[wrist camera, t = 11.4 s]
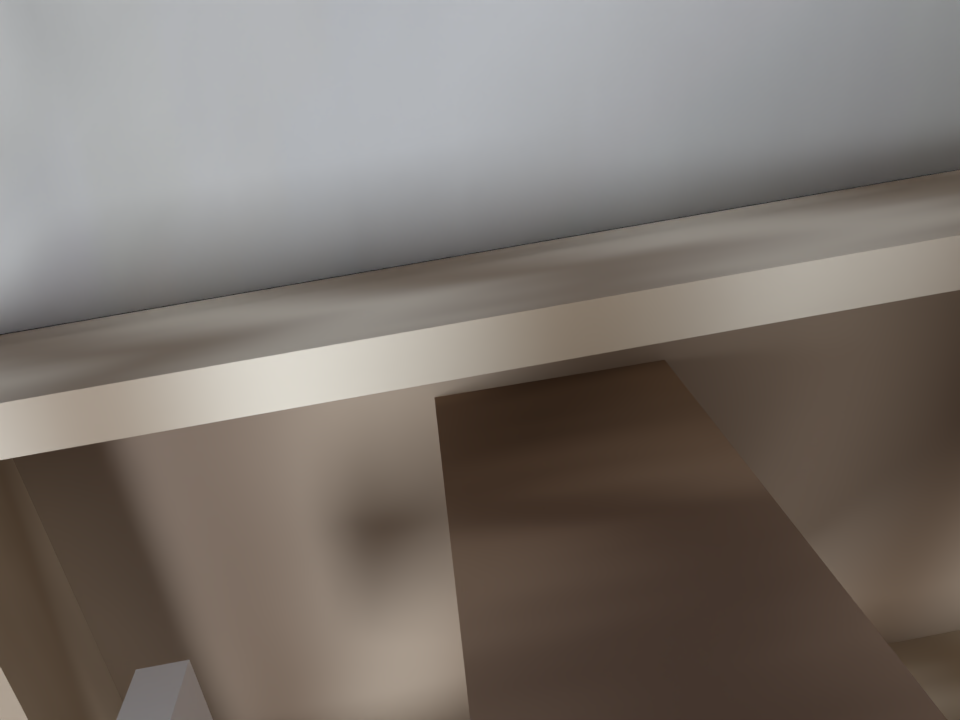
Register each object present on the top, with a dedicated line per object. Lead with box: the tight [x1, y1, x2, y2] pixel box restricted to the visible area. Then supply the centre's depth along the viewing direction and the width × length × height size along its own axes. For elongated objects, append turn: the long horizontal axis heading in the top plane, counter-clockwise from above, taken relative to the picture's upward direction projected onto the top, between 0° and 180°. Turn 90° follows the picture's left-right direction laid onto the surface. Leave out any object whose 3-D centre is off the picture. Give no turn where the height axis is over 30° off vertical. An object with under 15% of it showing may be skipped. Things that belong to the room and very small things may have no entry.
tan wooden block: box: [434, 360, 947, 720], centre depth 11 cm, size 4×6×9 cm, turn 8°
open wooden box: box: [0, 170, 960, 720], centre depth 14 cm, size 20×11×3 cm, turn 98°
